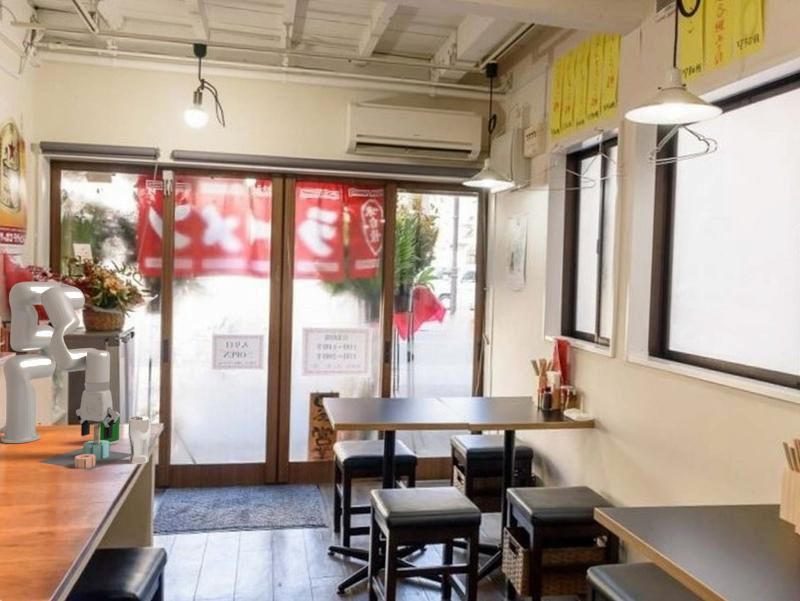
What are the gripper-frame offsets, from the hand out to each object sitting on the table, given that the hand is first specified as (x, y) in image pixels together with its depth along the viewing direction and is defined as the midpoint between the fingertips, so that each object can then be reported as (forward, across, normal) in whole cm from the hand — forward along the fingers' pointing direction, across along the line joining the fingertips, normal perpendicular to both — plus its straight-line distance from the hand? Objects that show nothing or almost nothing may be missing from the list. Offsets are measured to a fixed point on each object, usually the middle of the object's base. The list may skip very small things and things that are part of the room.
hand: (96, 436), depth 219 cm
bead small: (+7, +5, -10) cm, 13 cm away
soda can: (+7, -9, +15) cm, 19 cm away
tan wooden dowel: (+7, 0, 0) cm, 7 cm away
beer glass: (+7, +17, +1) cm, 19 cm away
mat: (+7, -1, -3) cm, 8 cm away
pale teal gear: (+7, 0, 0) cm, 7 cm away
